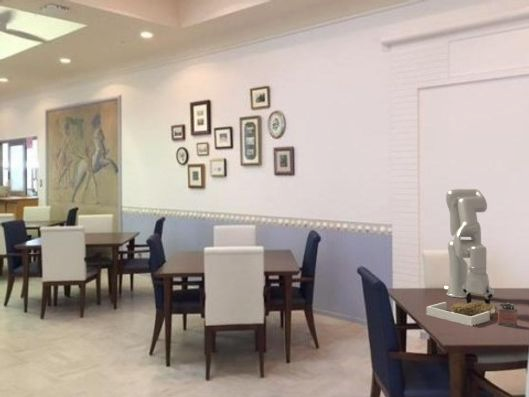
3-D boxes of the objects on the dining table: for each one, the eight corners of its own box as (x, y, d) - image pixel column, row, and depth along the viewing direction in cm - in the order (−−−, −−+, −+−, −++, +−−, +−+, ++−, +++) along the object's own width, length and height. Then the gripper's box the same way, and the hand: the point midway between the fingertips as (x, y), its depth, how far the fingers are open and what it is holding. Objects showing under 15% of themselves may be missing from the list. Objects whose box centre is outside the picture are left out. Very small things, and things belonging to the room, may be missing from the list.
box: (426, 314, 249) (426, 306, 249) (444, 309, 258) (444, 301, 258) (471, 326, 230) (471, 317, 229) (489, 320, 238) (489, 311, 238)
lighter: (516, 324, 231) (516, 302, 230) (517, 326, 228) (517, 304, 227) (497, 323, 233) (497, 301, 233) (497, 325, 230) (498, 303, 230)
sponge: (494, 317, 248) (452, 304, 256) (498, 303, 246) (455, 290, 254) (492, 329, 237) (448, 316, 245) (496, 314, 234) (451, 301, 243)
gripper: (458, 269, 258) (458, 302, 259) (490, 274, 244) (490, 309, 245) (466, 267, 262) (466, 300, 263) (498, 272, 248) (498, 306, 249)
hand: (478, 304), depth 254 cm, fingers open, 9 cm apart
